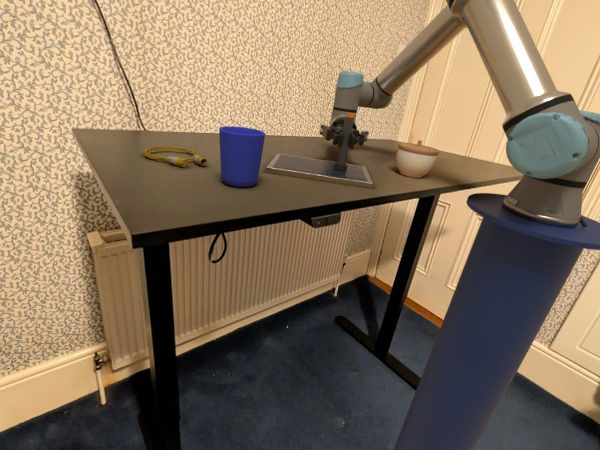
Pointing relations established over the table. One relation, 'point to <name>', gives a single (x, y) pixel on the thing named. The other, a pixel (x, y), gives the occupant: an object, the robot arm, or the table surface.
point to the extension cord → (176, 160)
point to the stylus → (345, 142)
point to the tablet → (319, 170)
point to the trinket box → (415, 159)
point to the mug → (240, 155)
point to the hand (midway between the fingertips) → (346, 142)
